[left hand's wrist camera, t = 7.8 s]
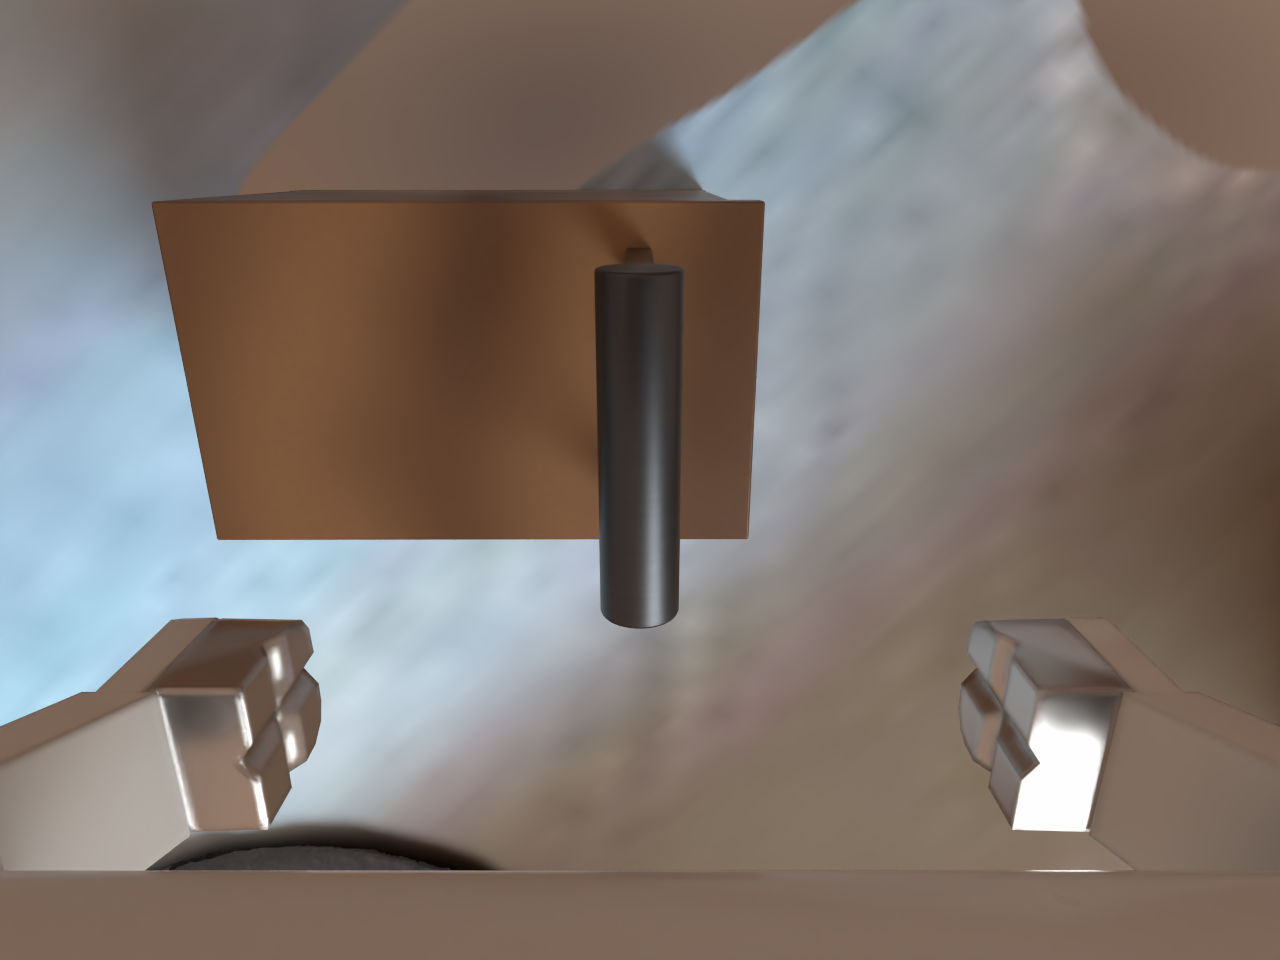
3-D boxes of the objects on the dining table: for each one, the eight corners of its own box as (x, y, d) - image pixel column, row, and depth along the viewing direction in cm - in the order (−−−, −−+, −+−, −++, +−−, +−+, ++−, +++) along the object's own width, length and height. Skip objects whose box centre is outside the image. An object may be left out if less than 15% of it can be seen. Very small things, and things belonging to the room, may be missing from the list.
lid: (760, 199, 23) (819, 216, 16) (744, 527, 27) (787, 669, 19) (169, 200, 23) (-57, 216, 16) (231, 527, 27) (70, 670, 19)
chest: (703, 189, 32) (729, 199, 23) (697, 434, 36) (718, 526, 27) (303, 190, 32) (169, 199, 23) (336, 434, 36) (231, 527, 27)
